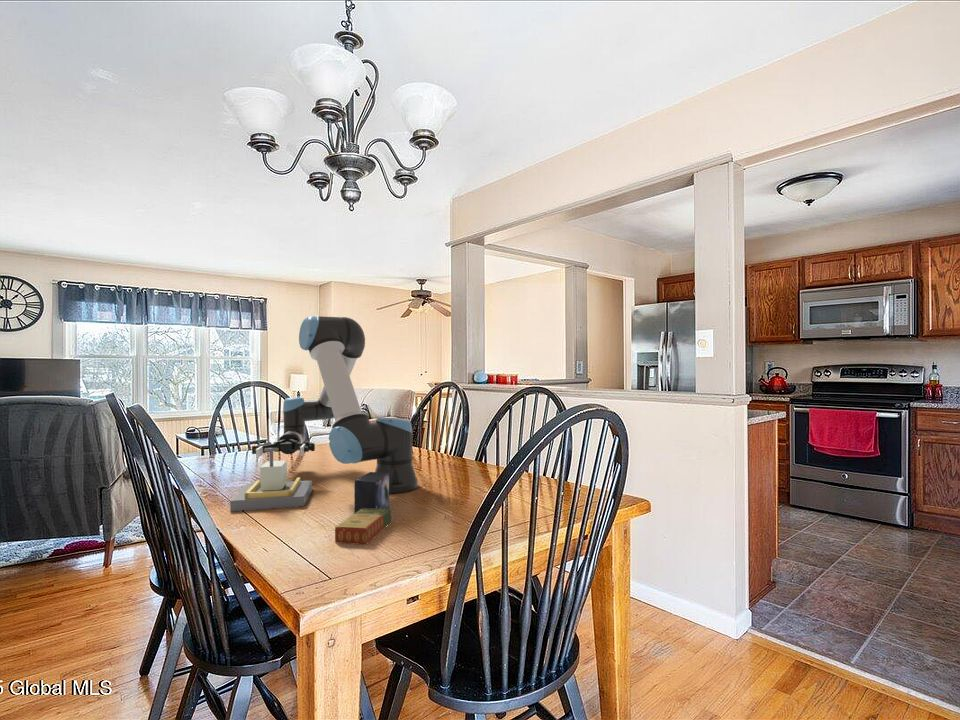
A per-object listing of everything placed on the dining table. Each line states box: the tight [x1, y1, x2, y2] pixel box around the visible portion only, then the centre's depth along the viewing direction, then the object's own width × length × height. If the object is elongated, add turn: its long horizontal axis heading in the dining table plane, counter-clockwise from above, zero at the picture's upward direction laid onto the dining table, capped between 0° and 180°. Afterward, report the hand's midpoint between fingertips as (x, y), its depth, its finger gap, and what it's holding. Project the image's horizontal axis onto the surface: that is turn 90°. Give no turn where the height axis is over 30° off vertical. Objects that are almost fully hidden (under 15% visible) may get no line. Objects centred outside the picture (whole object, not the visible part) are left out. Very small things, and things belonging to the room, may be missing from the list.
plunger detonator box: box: [259, 448, 288, 492], centre depth 159 cm, size 6×9×14 cm, turn 11°
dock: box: [229, 477, 313, 512], centre depth 159 cm, size 20×20×4 cm
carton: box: [334, 508, 392, 545], centre depth 129 cm, size 8×16×4 cm, turn 169°
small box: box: [353, 471, 390, 514], centre depth 144 cm, size 11×6×10 cm, turn 168°
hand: (279, 452), depth 168 cm, fingers open, 13 cm apart
